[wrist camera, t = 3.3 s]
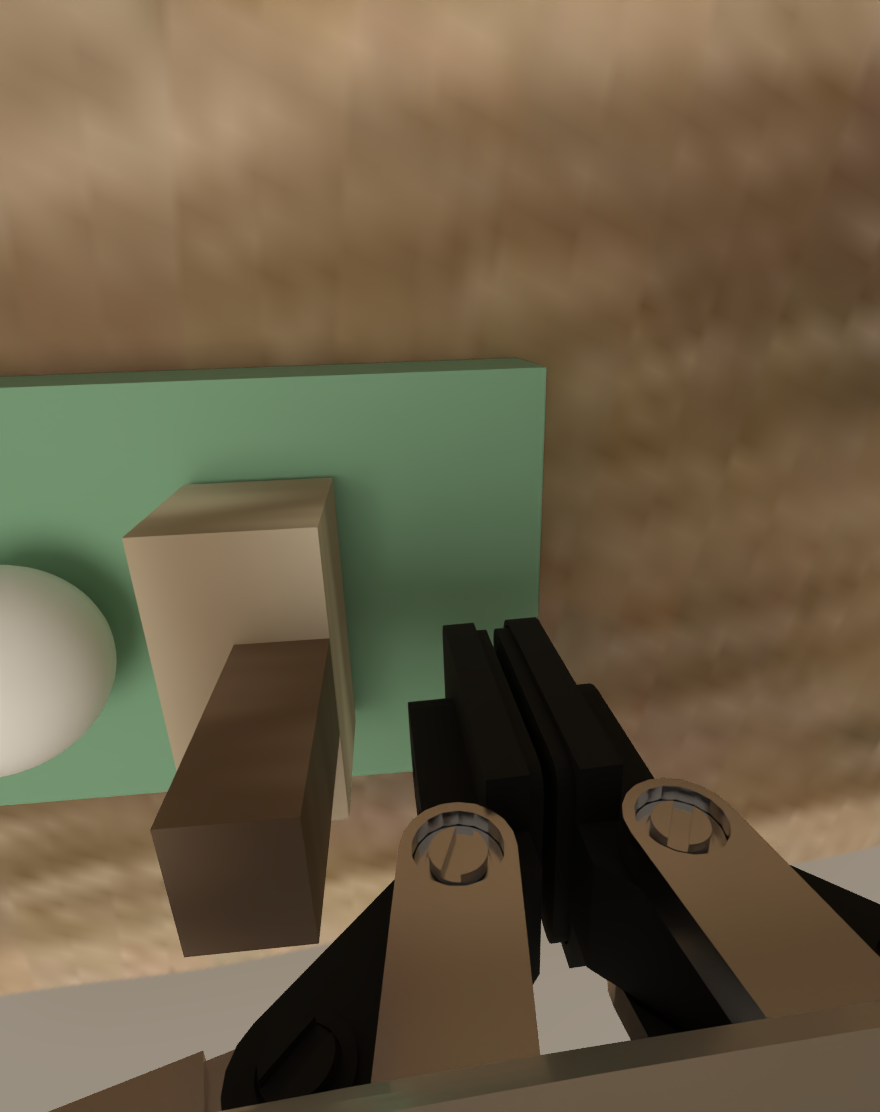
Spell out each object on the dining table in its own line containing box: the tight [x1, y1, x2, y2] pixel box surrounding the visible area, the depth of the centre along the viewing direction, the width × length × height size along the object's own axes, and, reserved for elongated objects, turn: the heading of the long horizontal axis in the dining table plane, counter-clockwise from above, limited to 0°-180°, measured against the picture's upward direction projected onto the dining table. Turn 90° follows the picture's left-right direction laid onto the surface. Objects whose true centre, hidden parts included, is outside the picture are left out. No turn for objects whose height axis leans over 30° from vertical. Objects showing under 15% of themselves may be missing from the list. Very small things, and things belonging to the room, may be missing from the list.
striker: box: [122, 477, 356, 957], centre depth 10 cm, size 3×6×7 cm, turn 2°
